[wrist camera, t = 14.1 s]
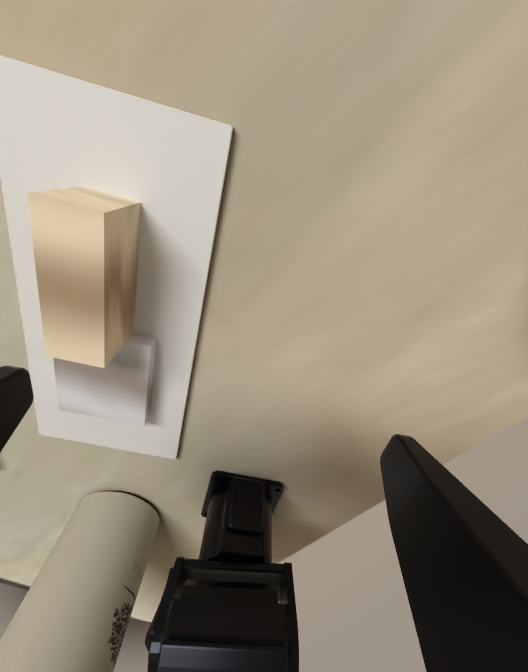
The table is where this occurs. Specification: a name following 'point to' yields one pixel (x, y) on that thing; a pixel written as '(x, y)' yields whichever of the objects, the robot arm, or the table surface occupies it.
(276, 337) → the table surface
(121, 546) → the travel mug
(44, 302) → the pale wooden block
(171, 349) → the mat
